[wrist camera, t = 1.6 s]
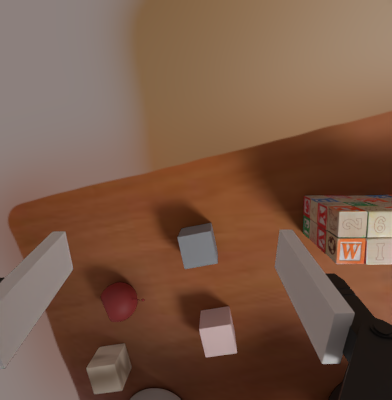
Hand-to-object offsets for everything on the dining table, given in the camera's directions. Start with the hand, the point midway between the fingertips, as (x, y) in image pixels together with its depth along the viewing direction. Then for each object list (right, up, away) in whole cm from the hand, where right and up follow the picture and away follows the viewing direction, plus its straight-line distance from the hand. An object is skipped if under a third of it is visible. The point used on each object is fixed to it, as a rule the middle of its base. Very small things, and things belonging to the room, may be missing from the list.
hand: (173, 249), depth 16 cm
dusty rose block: (+5, -18, +29) cm, 35 cm away
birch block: (-13, -26, +32) cm, 43 cm away
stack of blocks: (+29, +1, +24) cm, 38 cm away
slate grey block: (+2, -4, +27) cm, 27 cm away
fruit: (-10, -13, +30) cm, 34 cm away
